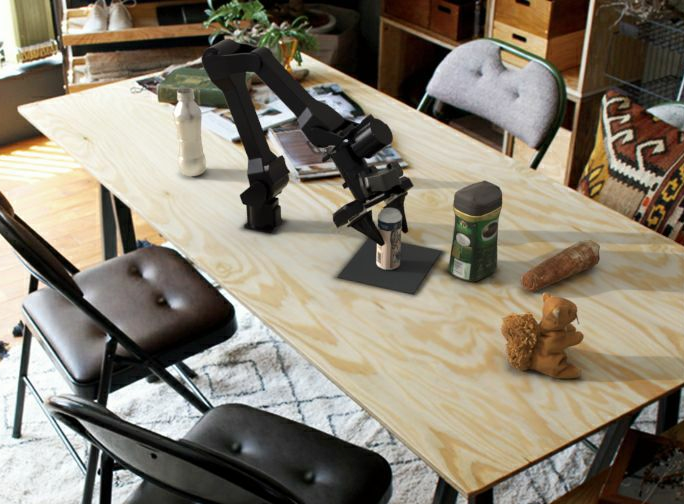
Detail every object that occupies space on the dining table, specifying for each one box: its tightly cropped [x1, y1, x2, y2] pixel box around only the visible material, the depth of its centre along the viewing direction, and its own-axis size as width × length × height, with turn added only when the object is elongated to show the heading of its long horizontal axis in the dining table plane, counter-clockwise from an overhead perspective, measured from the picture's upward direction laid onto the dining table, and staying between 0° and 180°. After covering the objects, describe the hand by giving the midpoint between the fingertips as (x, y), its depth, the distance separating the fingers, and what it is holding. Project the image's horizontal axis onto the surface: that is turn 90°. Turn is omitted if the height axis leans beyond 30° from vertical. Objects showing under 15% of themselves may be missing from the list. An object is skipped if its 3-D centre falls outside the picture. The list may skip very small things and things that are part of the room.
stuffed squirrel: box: [500, 292, 585, 379], centre depth 179 cm, size 10×14×13 cm
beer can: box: [376, 208, 402, 270], centre depth 205 cm, size 5×5×12 cm
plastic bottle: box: [172, 87, 207, 177], centre depth 235 cm, size 6×7×20 cm
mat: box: [336, 237, 443, 295], centre depth 209 cm, size 16×18×1 cm
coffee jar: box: [448, 180, 503, 282], centre depth 202 cm, size 10×8×19 cm
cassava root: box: [520, 239, 601, 293], centre depth 205 cm, size 6×19×6 cm, turn 127°
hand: (395, 239), depth 203 cm, fingers open, 7 cm apart
